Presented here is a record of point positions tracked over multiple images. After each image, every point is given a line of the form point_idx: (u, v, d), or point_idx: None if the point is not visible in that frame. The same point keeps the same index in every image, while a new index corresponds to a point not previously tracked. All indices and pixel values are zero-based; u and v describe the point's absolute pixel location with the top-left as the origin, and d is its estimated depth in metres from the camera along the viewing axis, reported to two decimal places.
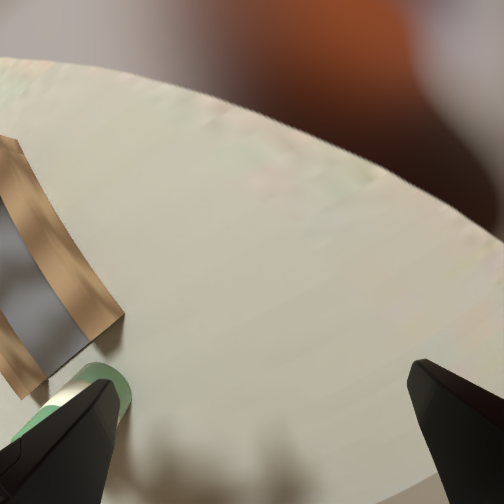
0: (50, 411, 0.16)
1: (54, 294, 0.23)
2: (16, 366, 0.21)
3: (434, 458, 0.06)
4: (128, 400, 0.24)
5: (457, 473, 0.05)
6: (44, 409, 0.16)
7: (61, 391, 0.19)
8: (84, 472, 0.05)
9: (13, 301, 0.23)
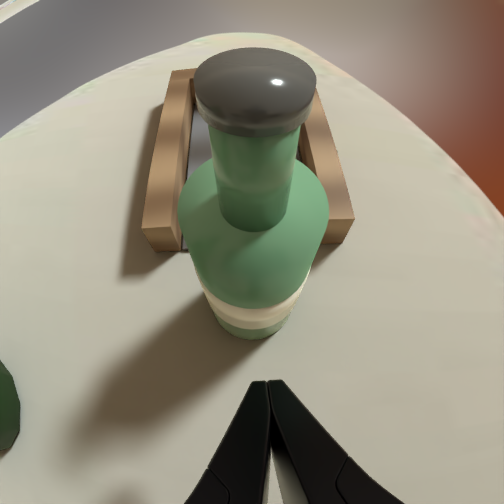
0: None
1: None
2: (175, 199, 0.22)
3: None
4: (284, 322, 0.20)
5: None
6: None
7: None
8: (267, 486, 0.06)
9: None
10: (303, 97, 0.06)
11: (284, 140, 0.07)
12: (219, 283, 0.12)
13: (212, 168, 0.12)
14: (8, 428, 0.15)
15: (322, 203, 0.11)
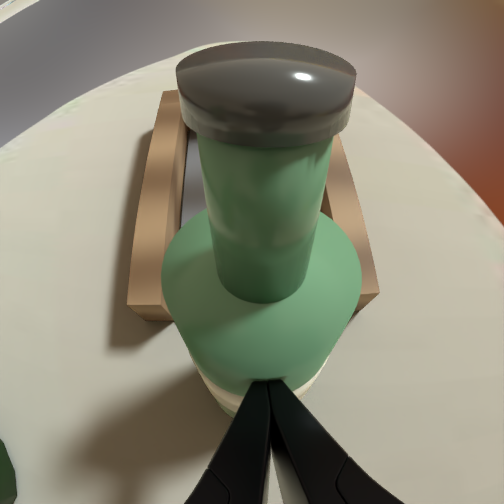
0: None
1: None
2: None
3: (281, 492, 0.06)
4: None
5: None
6: None
7: None
8: (267, 486, 0.06)
9: None
10: (343, 84, 0.04)
11: (312, 160, 0.05)
12: (216, 370, 0.08)
13: (208, 220, 0.09)
14: (6, 497, 0.11)
15: (352, 263, 0.08)
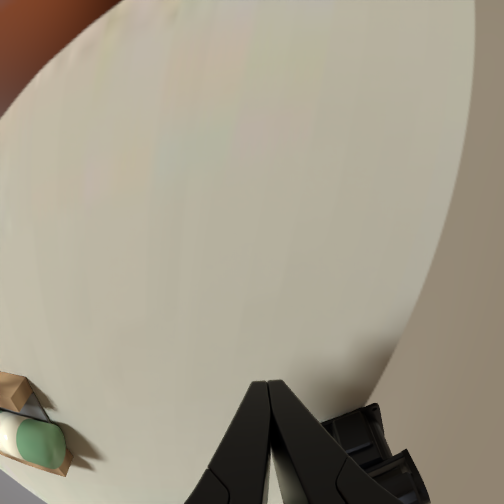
0: (1, 410, 0.25)
1: None
2: None
3: (281, 492, 0.06)
4: (34, 452, 0.21)
5: None
6: None
7: None
8: (267, 486, 0.06)
9: None
10: None
11: None
12: None
13: None
14: None
15: None
